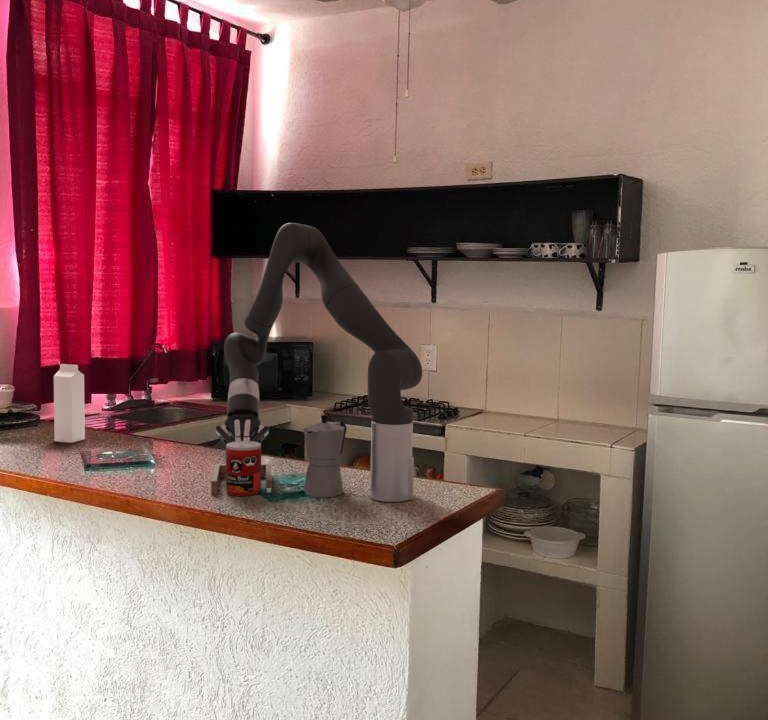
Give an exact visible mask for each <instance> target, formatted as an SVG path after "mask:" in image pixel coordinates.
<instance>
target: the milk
mask: <svg viewBox="0 0 768 720" xmlns="http://www.w3.org/2000/svg"><path fill="white" fill-rule="evenodd" d="M78 368H79V365H77V364H66V363H60V364H59V370H58V371H57V372H56V373H55V374H54V375H53V407H54V408H53V415H54V416H53V417H54V418H53V419H54V422H53V423H54V425H53V427H54V442H59V443H69V444H70V443H71V444H72V443H73V444H74V443H76V442H79V441H84V440H85V439H86V429H85V428H86V427H85V426H86V424H85V422H86V421H85V420H86V419H85V418H86V417H85V413H86V412H85V409H86V408H85V406H86V405H85V374H84V373H82V371H80V370H79V369H78Z"/></svg>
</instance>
